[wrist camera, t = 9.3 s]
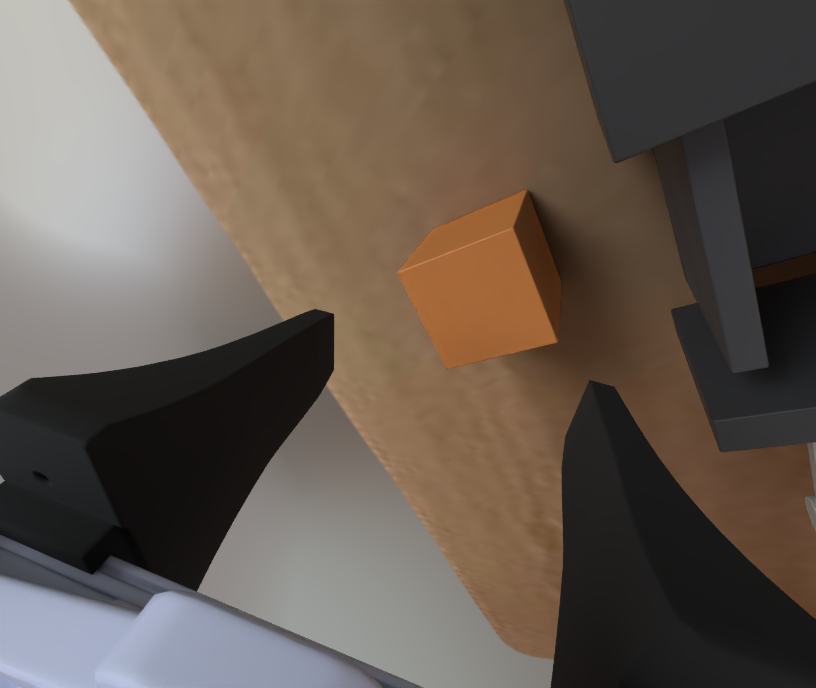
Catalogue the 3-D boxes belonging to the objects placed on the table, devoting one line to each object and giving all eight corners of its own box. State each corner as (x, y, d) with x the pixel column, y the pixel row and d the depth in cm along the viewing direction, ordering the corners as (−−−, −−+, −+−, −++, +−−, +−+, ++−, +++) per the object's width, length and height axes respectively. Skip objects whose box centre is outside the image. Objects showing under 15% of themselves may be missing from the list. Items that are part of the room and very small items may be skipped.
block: (562, 283, 19) (558, 343, 15) (470, 311, 21) (446, 370, 17) (527, 188, 18) (513, 227, 14) (432, 229, 20) (396, 272, 16)
